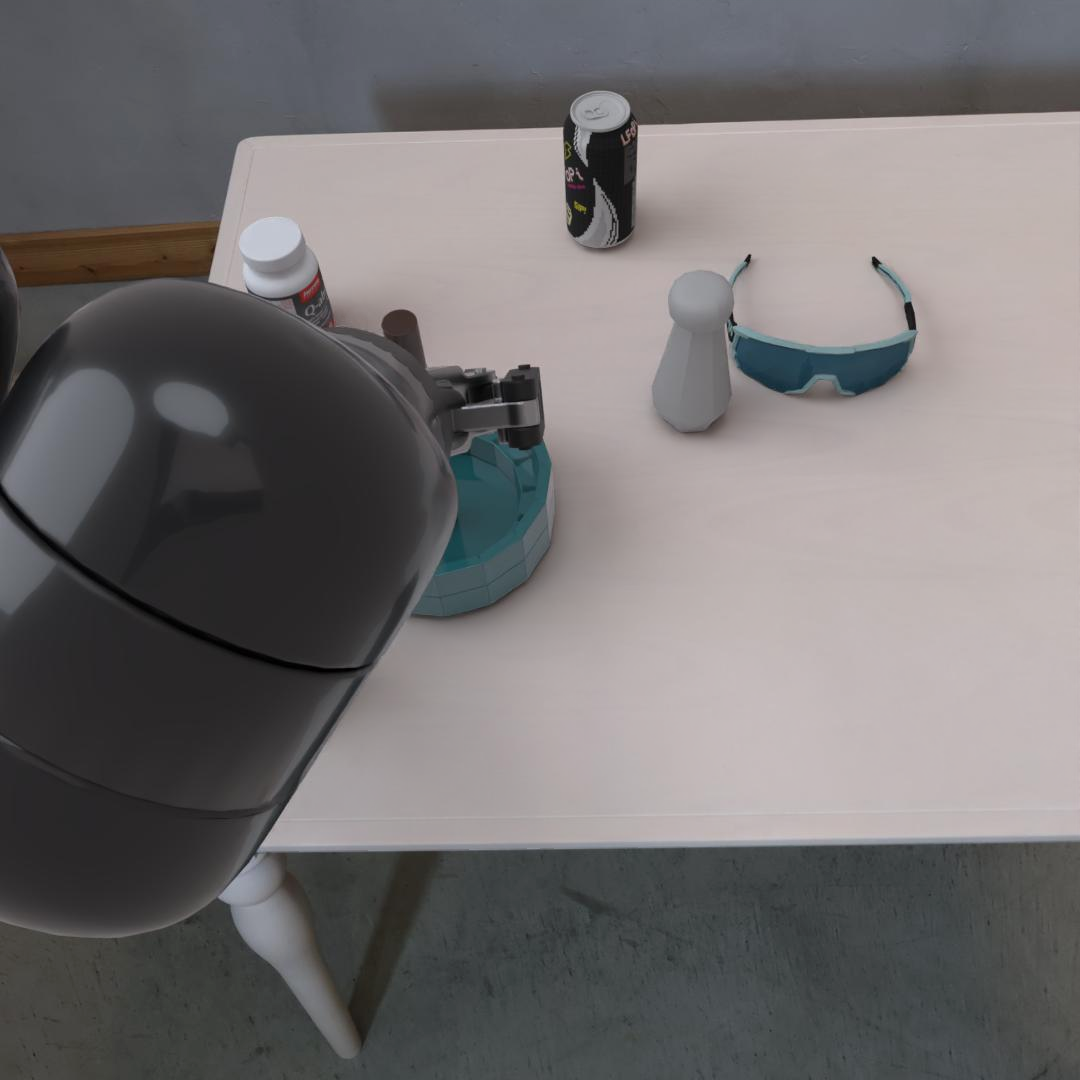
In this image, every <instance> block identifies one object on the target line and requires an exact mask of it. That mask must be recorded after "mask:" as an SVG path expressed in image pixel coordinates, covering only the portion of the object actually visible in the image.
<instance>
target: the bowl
mask: <svg viewBox="0 0 1080 1080" xmlns="http://www.w3.org/2000/svg"><path fill="white" fill-rule="evenodd" d="M546 445H547V444H546V442H545V440H544V438H543V439H542V444H541V445H538V446H533V447H532V449H531V450H523V451H520V450H519V448H509V444H499V443H498V435H497V431H495V432H493V434H491V435H480V436H476V437H474V438H473V440H472V443H471V447H470V449H469V450H468V451H467V452H465V453H461V454H458V455H454V456H451V457H450V460H449V462H450V464H451V467H452V470H453V473H454V476H455V479H456V483H457V487H458V520H457V523H456V524H455V526H454V530H453V533H452V535H451V538H450V541H449V543H448V546H447V548H446V550H445V553H444V555H443V557H442V559H441V561H440V563H439V565H438V568H437V569H436V571H435V573H434V575H433V577H432V579H431V581H430V583H429V584H428V586H427V588H426V589H425V591H424V593H423V595H422V596H421V598H420V600H419V601H418V603H417V605H416V606H415V608H414V610H413V611H412V613H411V614H410V615H412V614H413V615H424V616H434V617H449V616H455V615H457V614H461V613H465V612H469V611H474V610H476V609H481V608H485V607H488V606H490V605H492V604H494V603H495V602H497V601H498V600H500V599H501V598H503V597H504V596H505V595H507V594H509V593H510V592H512V591H513V590H514V589H516V588H517V587H519V586H520V585H522V584H523V583H524V582H526V581H527V580H528V579H529V578H530V576H531V574H532V573H533V571H534V570H535V569H536V567H537V565H538V564H539V562H540V561H541V559H542V558H543V556H544V555H545V553H546V551H547V550H548V548H549V547H550V545H551V539H552V532H553V527H554V518H555V514H556V513H555V511H556V504H555V503H556V502H555V489H554V475H553V463H552V461H551V460H552V459H551V457H550V454H549V451H548V449H547V446H546Z"/></svg>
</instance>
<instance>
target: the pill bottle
mask: <svg viewBox="0 0 1080 1080" xmlns="http://www.w3.org/2000/svg"><path fill="white" fill-rule="evenodd" d="M238 247H239V251H240V253H241V256H242V258H243V265H242V271H241V272H242V279H243V282H244V286H245V288H246V292H247V293H249V294H252V295H255V296H257V297H260V298H262V299H265V300H267V301H269V302H272V303H274V304H276V305H278V306H280V307H282V308H285V309H287V310H289V311H290V312H292V313H294V314H296V315H298V316H300V317H302V318H304V319H306V320H307V321H309V322H311V323H312V324H314V325H316V326H317V327H319V328H326V327H336V321H335V316H334V313H333V309H332V305H331V302H330V297H329V295H328V291H327V288H326V285H325V281H324V279H323V278H324V277H323V274H322V272H321V268H320V265H319V261H318V259H317V256H316V254H315V252H314V251H313V249H312V248H311V247H309V245H307V242H306V238H305V236H304V233H303V231H302V228H301V226H300V225H299V224H298V223H297V222H296V221H295V220H293V219H292V218H289V217H285V216H278V215H277V216H275V215H274V216H267V217H263V218H260V219H258V220H256V221H254V222H251V224H249V225H248V226H247V227H246V228H245V229H244V230H243V231H242V233H241V235H240V236H239V241H238Z"/></svg>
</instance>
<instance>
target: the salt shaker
mask: <svg viewBox="0 0 1080 1080" xmlns="http://www.w3.org/2000/svg"><path fill="white" fill-rule="evenodd" d="M728 281H729V280H728V279H727V278H726V277H725V276H724V275H721V274H719V273H716V272H715V271H712V270H706V269H695V270H692V271H689V272H688V271H687V272H684V273H683V274H682V275H680V276H678V277H677V278H675V279H674V281H673V283H672V285H671V287H670V289H669V293H668V295H667V303H668V305H667V306H668V312H669V316H670V318H671V319H672V320H673V321H674V322H673V325H672V326H671V327H672V328H671V330H670V334H669V336H668V339H667V343H666V346H665V348H664V351H663V354H662V357H661V359H660V362H659V364H658V367H657V370H656V373H655V375H654V378H653V382H652V384H651V397H652V402H653V406H654V407H655V409H656V410H657V411H658V413H659V414H660V416H661V417H662V419H663V420H664V421H666V422H667V423H668V424H669V425H670V426H672V427H673V428H674V429H676V430H677V431H678V432H679V433H680V434H681V433H694V432H695V433H697V432H706V431H707V429H708V428H709V427H710V426H711V424H712V423H713V422H714V421H716V420H717V419H718V418H719V417H721V416H722V415H724V413H725V412H726V410H727V408H728V406H729V404H730V401H731V398H732V396H733V393H732V392H733V391H732V383H731V373H730V364H729V356H728V346H727V338H726V329H725V324H727V321H728V319H729V317H730V315H731V313H732V311H733V312H734V308H735V295H734V291H733V288H732V285H731V284H730V283H729V282H728Z"/></svg>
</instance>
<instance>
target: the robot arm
mask: <svg viewBox="0 0 1080 1080" xmlns="http://www.w3.org/2000/svg"><path fill="white" fill-rule="evenodd" d="M13 270H14V269H13V268H12V266H11V263H10V261H9V259H8V257H7V254H6V253H5V251H4V250H3V248H2V246H0V922H2V923H6V924H8V925H12V926H16V927H19V928H25V929H28V930H33V931H37V932H41V933H45V934H49V935H54V936H59V937H67V938H80V939H81V938H84V939H86V938H87V939H117V938H118V939H119V938H121V939H122V938H126V937H133V936H137V935H143V934H145V933H150V932H154V931H158V930H162V929H165V928H167V927H170V926H173V925H176V924H178V923H180V922H182V921H185V920H186V919H188V918H189V917H191V916H193V915H194V914H196V913H198V912H200V911H201V910H203V909H204V908H206V907H207V906H209V905H210V904H211V903H212V902H214V900H216V899H217V898H218V897H219V896H220V895H222V894H223V893H224V891H226V889H227V888H228V887H229V886H230V885H231V884H232V883H233V882H234V881H235V879H236V878H237V877H238V876H239V875H240V874H241V872H243V870H244V869H245V868H246V867H247V866H248V864H249V863H250V862H251V861H252V859H253V858H254V857H255V854H256V853H257V852H258V850H259V849H260V847H261V846H262V844H263V843H264V841H265V840H266V838H267V837H268V835H269V834H270V833H271V831H272V829H273V828H274V827H275V825H276V824H277V822H278V821H279V818H280V817H281V815H282V814H283V812H284V810H285V809H286V807H287V806H288V804H289V803H290V801H291V800H292V798H293V797H294V795H295V793H296V792H297V790H298V789H299V787H300V785H301V784H302V782H303V781H304V779H305V778H306V776H307V775H308V773H309V772H310V770H311V768H312V767H313V765H314V764H315V763H316V761H317V759H318V758H319V756H320V754H321V753H322V751H324V748H325V747H326V745H327V744H328V742H329V740H330V739H331V737H332V736H333V734H334V733H335V731H336V729H337V728H338V726H339V725H340V723H341V722H342V720H343V718H344V717H345V715H346V714H347V712H348V711H349V709H350V708H351V706H352V704H353V703H354V702H355V700H356V698H357V696H358V695H359V693H360V692H361V690H362V689H363V687H364V686H365V684H366V683H367V681H368V680H369V677H370V676H371V675H372V674H373V672H374V670H375V668H377V666H378V664H379V663H380V661H381V659H382V657H384V655H385V654H386V653H387V652H388V650H389V649H390V647H391V645H392V644H393V642H394V641H395V639H396V637H398V635H399V633H400V631H401V630H402V629H403V627H404V625H405V624H406V623H407V620H408V619H409V617H410V616H411V615H412V614H411V613H412V611H413V610H414V608H415V606H416V605H417V603H418V601H419V600H420V598H421V596H422V595H423V593H424V591H425V589H426V588H427V586H428V584H429V583H430V581H431V579H432V577H433V575H434V573H435V571H436V569H437V568H438V565H439V563H440V561H441V559H442V557H443V555H444V553H445V550H446V548H447V546H448V543H449V541H450V538H451V535H452V533H453V530H454V526H455V523H456V520H457V516H458V487H457V483H456V479H455V476H454V473H453V470H452V467H451V464H450V462H449V460H450V457H451V456H454V455H458V454H461V453H465V452H467V451H468V450H469V449H470V447H471V443H472V440H473V438H474V437H476V436H480V435H491V434H493V432H495V431H497V435H498V443H499V444H509V448H519V450H520V451H523V450H531V449H532V447H533V446H538V445H541V444H542V439H544V434H545V430H546V421H545V410H544V400H543V389H542V380H541V371H540V366H531V364H530V363H526V364H518V365H517V368H511V369H509V370H508V372H507V373H506V374H505V376H504V377H500V378H499V377H498V376H497V375H496V370H495V369H487V367H474V368H465V369H463V368H462V367H461V366H460V365H441V366H438V365H437V366H429V367H428V366H427V368H424V367H423V365H422V364H421V363H420V362H419V361H418V360H417V359H416V358H415V357H414V356H413V355H411V354H410V353H409V352H408V351H406V350H405V349H404V348H402V347H401V346H399V345H398V344H396V343H394V342H393V341H391V340H389V339H387V338H385V337H384V335H383V336H382V335H380V334H377V333H375V332H371V331H368V330H364V329H360V328H355V327H346V326H335V327H326V328H319V327H317V326H316V325H314V324H312V323H311V322H309V321H307V320H306V319H304V318H302V317H300V316H298V315H296V314H294V313H292V312H290V311H289V310H287V309H285V308H282V307H280V306H278V305H276V304H274V303H272V302H269V301H267V300H265V299H262V298H260V297H257V296H255V295H252V294H249V293H248V291H243V290H240V289H237V288H232V287H228V286H225V285H223V284H219V283H215V282H211V281H203V280H197V279H188V278H183V277H182V278H181V277H156V278H148V279H141V280H134V281H132V282H127V283H124V284H122V285H119V286H117V287H115V288H112V289H110V290H107V291H106V292H103V293H101V294H100V295H98V296H97V297H95V298H93V299H91V300H90V301H88V302H86V303H85V304H84V305H82V306H81V307H80V308H78V309H77V310H76V311H74V312H73V313H72V314H71V315H70V316H69V317H67V318H66V319H64V321H63V322H61V323H60V324H59V325H58V326H57V327H55V328H54V330H53V331H52V332H51V333H50V334H49V335H48V336H47V337H46V338H45V339H44V341H43V342H42V343H41V344H40V345H39V347H38V348H37V349H36V351H35V352H34V353H33V354H32V356H31V357H30V359H29V360H28V361H27V363H26V364H25V366H24V367H23V369H22V370H21V372H20V373H19V375H18V377H17V378H16V379H15V382H14V384H13V385H12V383H13V379H14V375H15V370H16V364H17V360H18V354H19V347H20V346H19V345H20V337H21V325H22V306H21V298H20V292H19V287H18V283H17V279H16V276H15V273H14V271H13Z"/></svg>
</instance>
